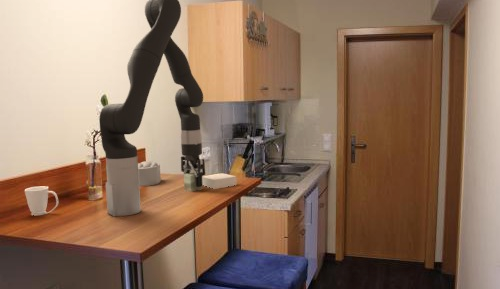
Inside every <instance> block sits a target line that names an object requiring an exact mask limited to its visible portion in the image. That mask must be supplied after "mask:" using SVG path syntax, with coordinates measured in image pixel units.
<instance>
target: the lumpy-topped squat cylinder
mask: <svg viewBox="0 0 500 289" xmlns="http://www.w3.org/2000/svg"><path fill="white" fill-rule="evenodd" d="M138 173H139V187H148V186H154V185H157V184H159V183H161V181H162V180H161V164H160V163H157V162H156V161H154V160H151V161H145V160H144V161H142V162H140V163H139V162H138Z"/></svg>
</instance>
